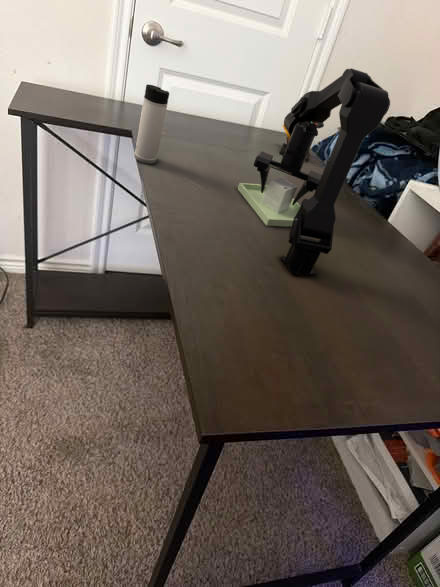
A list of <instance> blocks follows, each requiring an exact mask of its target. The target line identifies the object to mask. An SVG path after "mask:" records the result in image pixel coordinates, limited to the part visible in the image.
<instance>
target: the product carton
mask: <svg viewBox="0 0 440 587" xmlns="http://www.w3.org/2000/svg"><path fill="white" fill-rule="evenodd" d="M267 185H268V187H267V189H266V192H265V194H264V197H263V199H262V202H261V203H262V204H264V205H265V206H267V207H268V208H270V209H271V210H273V211H274V212H276V213H279V212H282V211H284V210H287V209H288V208H289V206H290V204H291V201H292V199H293V198H295V194H296V192H297V189H298V186H297V185H295V184H294V183H292V182H291V181H289V180H288V179H286V178H284V177H283V176H280V177H276V178H272V179H269V182H268V184H267Z"/></svg>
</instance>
